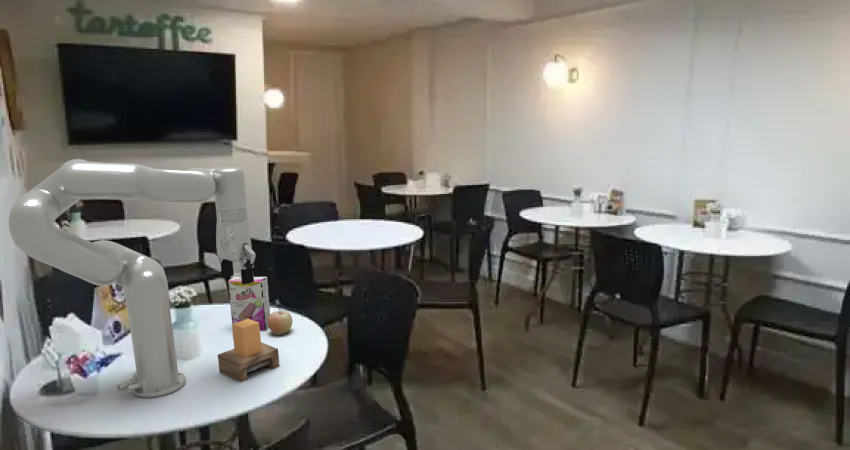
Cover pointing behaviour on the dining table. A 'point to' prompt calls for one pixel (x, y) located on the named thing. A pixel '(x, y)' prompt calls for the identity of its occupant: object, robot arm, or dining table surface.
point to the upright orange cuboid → (246, 337)
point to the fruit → (280, 322)
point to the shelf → (247, 362)
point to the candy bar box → (249, 301)
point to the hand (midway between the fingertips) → (237, 279)
